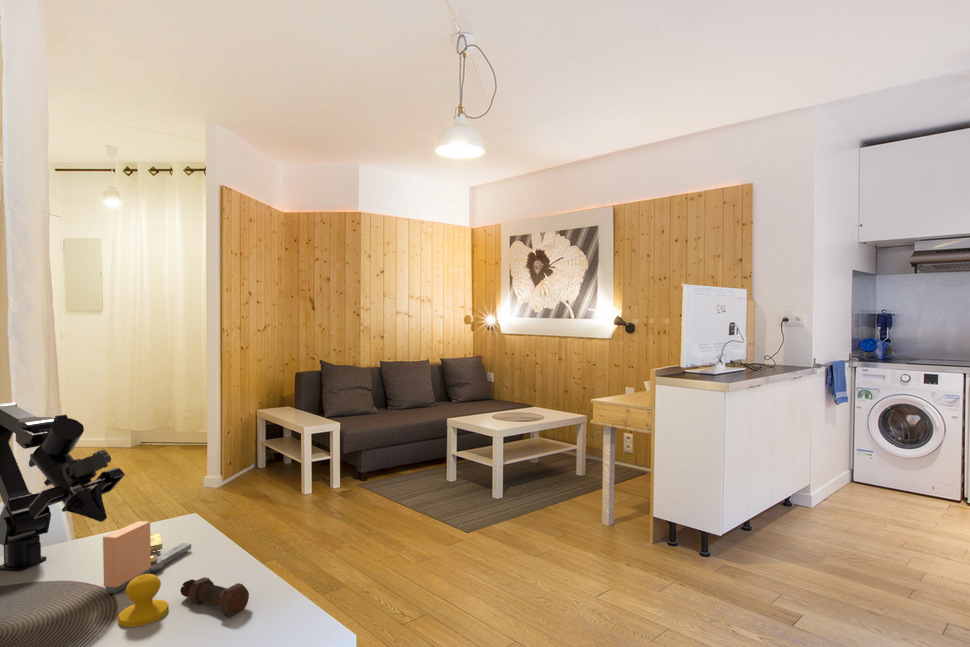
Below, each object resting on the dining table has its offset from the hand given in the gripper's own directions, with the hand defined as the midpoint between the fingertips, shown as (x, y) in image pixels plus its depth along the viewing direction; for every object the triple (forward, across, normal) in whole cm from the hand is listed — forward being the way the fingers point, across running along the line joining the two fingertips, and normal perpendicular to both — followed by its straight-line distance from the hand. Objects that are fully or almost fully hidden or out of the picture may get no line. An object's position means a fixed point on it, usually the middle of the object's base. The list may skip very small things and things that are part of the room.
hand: (104, 519), depth 118 cm
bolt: (+30, -6, -12) cm, 33 cm away
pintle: (+12, +5, +3) cm, 14 cm away
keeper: (+9, +13, +10) cm, 18 cm away
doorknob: (+23, -12, -4) cm, 26 cm away
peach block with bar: (+14, +6, +5) cm, 16 cm away
